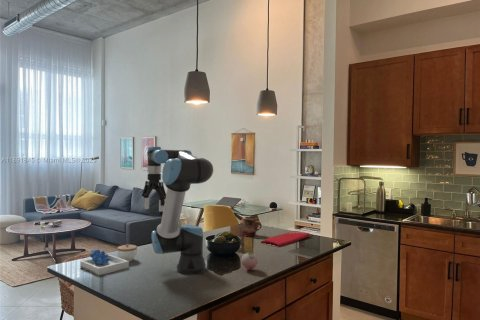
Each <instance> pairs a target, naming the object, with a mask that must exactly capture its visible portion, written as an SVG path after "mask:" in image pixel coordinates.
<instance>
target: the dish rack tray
mask: <svg viewBox="0 0 480 320" xmlns="http://www.w3.org/2000/svg"><path fill="white" fill-rule="evenodd" d="M108 256H109V257H108V258H109V262H107V263H106V264H102V263H100V264H98V263H97V264H96V263H95V261H93V260H92V258H89V259H85V260H80V265H79V266H80V267H81V268H80V269H82V268H83V270H84V271H87V272H90V273H91V274H94V275H96V276H103V275H106V274H109V273H113V272H118V271H121V270H125V269H129V268H130V267H129V266H130V263H129V261H127V260H124V259H121V258H119V257H118V256H115V255H113V254H108Z"/></svg>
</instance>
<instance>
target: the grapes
mask: <svg viewBox="0 0 480 320" xmlns="http://www.w3.org/2000/svg"><path fill="white" fill-rule="evenodd" d="M108 255H109V254H106V252H105V251H103V250H102V251H101V250H100V249H93V250H91V252H90V254H89V256H90V259H92V260H93V261H95V263H96V264H97V263H98V264H100V263H102V264H106V263H107V262H109V258H108V257H109V256H108Z"/></svg>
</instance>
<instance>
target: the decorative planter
mask: <svg viewBox="0 0 480 320" xmlns="http://www.w3.org/2000/svg"><path fill="white" fill-rule="evenodd" d="M239 225H240V227H241V230H242V232H241V233H242V234H241V235H242V236H243V235H246V236H245V237H247V236H251V237H254V236H253V235H255V236H256V234H257V232H258V231H260V230H261V229H262V223H261V221H260V220H259V221H258V218H257V217H255V216H243V217H242V218H241V220H240V224H239Z"/></svg>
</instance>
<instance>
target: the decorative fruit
mask: <svg viewBox="0 0 480 320" xmlns="http://www.w3.org/2000/svg"><path fill="white" fill-rule="evenodd" d="M240 261H241V265H242V266H243V267H244V268H245V269H247V270H249V271H251V270H253V269H254V268H256V267H257V265H258V261H259V258H258V257H257V256H256V255H255V254H254V253H252V252H251V251H247V252H246V253H244V254H243V255H242V257H241V260H240Z"/></svg>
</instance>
